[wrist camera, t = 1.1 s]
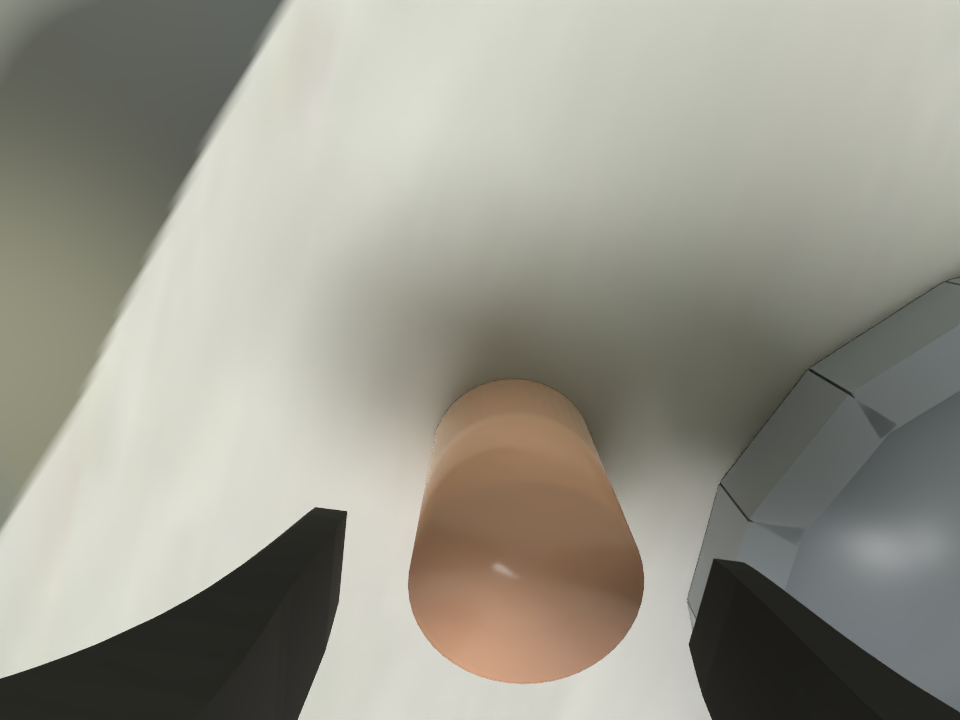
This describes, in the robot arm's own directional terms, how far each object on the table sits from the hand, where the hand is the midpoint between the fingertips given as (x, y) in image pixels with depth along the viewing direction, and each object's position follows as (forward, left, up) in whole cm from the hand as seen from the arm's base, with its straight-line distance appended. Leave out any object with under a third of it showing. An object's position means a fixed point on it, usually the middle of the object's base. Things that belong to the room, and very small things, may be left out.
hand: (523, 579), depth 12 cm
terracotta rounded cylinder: (0, 0, -6) cm, 6 cm away
